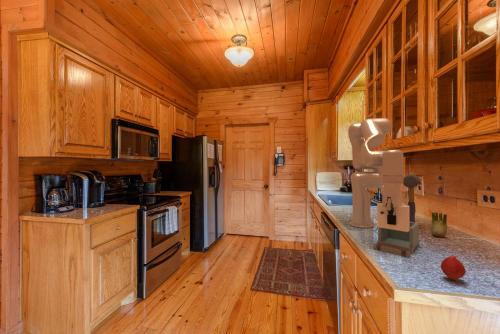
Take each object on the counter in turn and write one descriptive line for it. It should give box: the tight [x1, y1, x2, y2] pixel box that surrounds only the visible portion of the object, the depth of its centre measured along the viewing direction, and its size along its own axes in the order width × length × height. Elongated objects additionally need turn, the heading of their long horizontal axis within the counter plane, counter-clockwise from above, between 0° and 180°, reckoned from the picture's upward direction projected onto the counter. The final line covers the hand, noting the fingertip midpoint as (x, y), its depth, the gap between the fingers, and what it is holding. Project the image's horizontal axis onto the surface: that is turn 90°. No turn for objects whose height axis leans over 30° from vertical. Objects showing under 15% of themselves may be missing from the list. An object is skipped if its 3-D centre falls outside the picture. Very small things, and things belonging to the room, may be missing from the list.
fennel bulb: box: [430, 211, 448, 238], centre depth 115 cm, size 6×5×12 cm
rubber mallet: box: [402, 174, 421, 223], centre depth 131 cm, size 12×8×30 cm, turn 139°
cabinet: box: [373, 221, 420, 258], centre depth 101 cm, size 18×13×10 cm
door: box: [376, 202, 410, 232], centre depth 96 cm, size 4×11×10 cm, turn 45°
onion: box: [440, 254, 467, 281], centre depth 73 cm, size 6×6×8 cm
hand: (392, 223), depth 97 cm, fingers closed on door, 3 cm apart
